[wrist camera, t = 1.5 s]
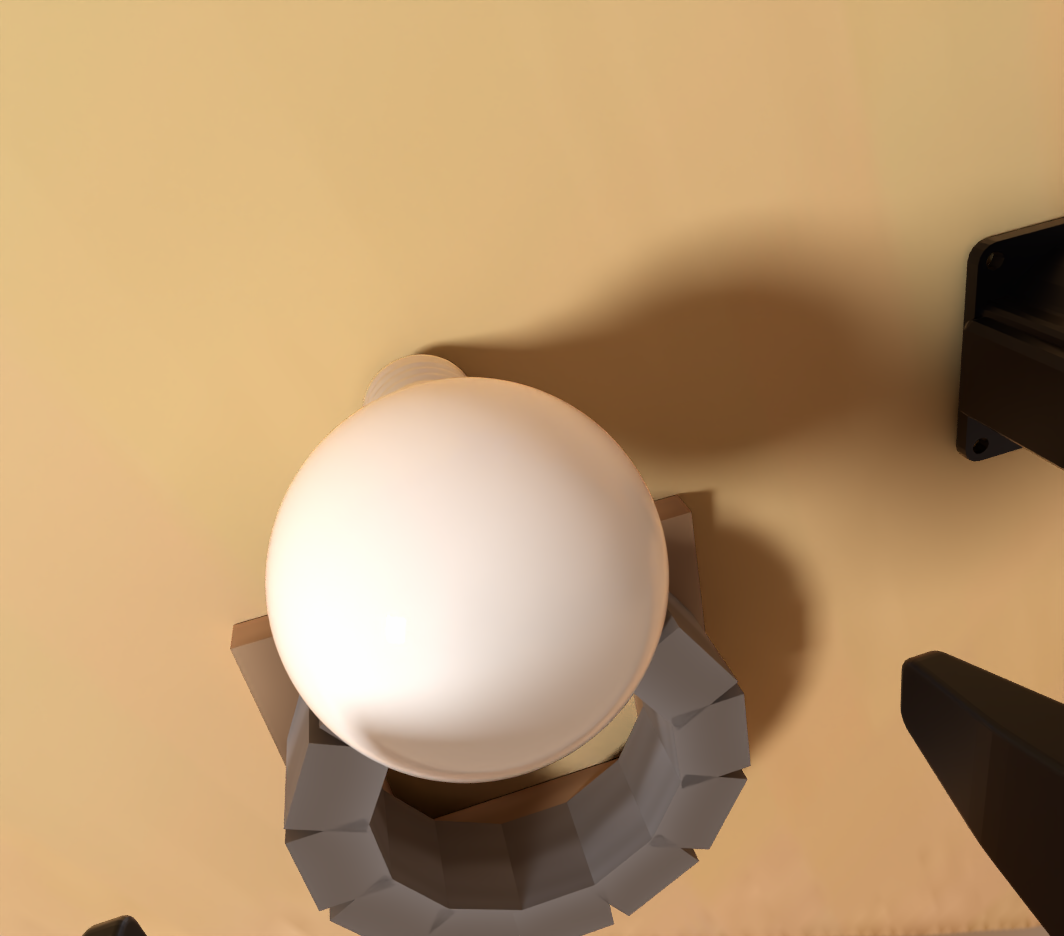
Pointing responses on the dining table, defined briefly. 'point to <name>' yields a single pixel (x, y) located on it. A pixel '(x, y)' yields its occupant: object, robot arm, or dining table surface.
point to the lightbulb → (466, 576)
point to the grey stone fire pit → (519, 800)
